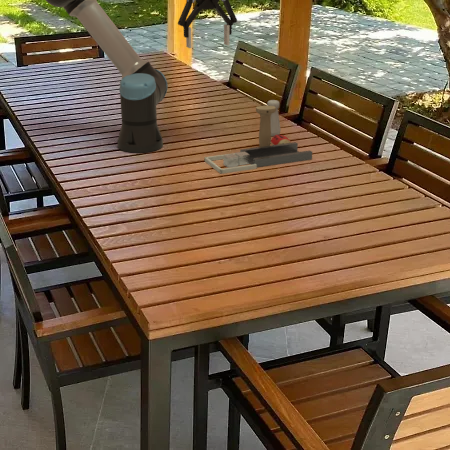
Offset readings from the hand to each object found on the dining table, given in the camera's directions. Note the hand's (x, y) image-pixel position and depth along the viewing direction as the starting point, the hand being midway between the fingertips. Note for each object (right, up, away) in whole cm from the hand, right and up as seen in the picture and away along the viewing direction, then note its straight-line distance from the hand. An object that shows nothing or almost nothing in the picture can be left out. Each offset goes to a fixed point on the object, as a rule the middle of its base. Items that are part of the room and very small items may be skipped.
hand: (208, 46), depth 239 cm
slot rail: (+22, -39, -10) cm, 46 cm away
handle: (+19, -36, -2) cm, 40 cm away
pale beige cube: (+11, -41, -15) cm, 45 cm away
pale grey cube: (+8, -42, -17) cm, 46 cm away
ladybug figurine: (+25, -33, +4) cm, 42 cm away
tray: (+7, -42, -16) cm, 45 cm away
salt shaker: (+22, -29, +14) cm, 39 cm away
